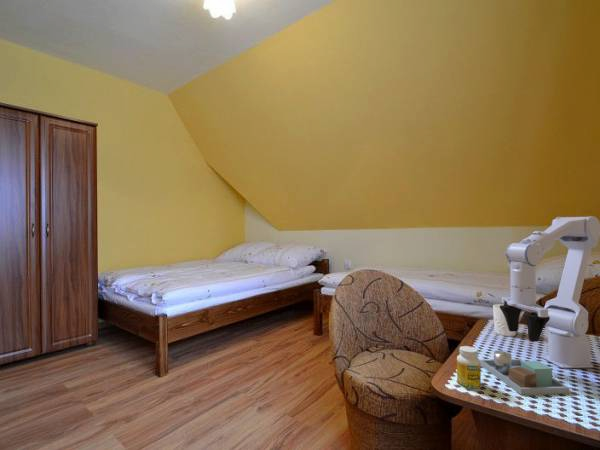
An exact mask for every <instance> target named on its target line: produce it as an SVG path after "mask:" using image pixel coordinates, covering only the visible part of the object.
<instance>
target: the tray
mask: <svg viewBox="0 0 600 450" xmlns="http://www.w3.org/2000/svg"><path fill="white" fill-rule="evenodd" d="M479 360H480V363H481V367H482V368H484V369H485V370H486V371H487V372H489V373H490V374H491V375H493V376H494V377H496V378H497V379H498V380H500V381H501V382H502V383H504V384H505V385H507V386H508V387H509V388H511V389H512V390H513V391H515V392H516V393H517V394H519V395H520V396H530V395H531V396H533V395H534V396H537V395H539V396H540V395H570V387H569V386H567V385H565V384H564V383H563V382H561V381H559V380H558V379H556V378H553V377H552V387H525V388H521V387H520V386H518V385H517V384H516V383H514V382H513V381H511V380H510V379H509V375H503V374H501V373H500V372H498V371H497V370H496V369H494V359H479ZM521 361H524V360H522V359H521V358H511V368H514V367H520V366H521Z"/></svg>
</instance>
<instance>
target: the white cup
mask: <svg viewBox="0 0 600 450" xmlns="http://www.w3.org/2000/svg"><path fill="white" fill-rule="evenodd" d="M500 305H504V304H503V303H502V304H501V303H500V304H499V303H497V304H496V303H495V304H493V305H492V315H493V326H494V329H493V330H494V333H496V334H497V335H501V336H505V337H515V336H516V335H517V331H509V329H508V325H507V322H506V319H505V316H504V314H503V312H502V310H501V309H500Z"/></svg>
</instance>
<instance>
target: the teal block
mask: <svg viewBox="0 0 600 450" xmlns="http://www.w3.org/2000/svg"><path fill="white" fill-rule="evenodd" d="M521 367H523V368H525V369H528V370H530V371H532V372H534V373H536V387H552V378H553V367H552V368H551V367H550V366H548V365H546V364H544V363H542V362H541V361H540V360H523V361H521Z"/></svg>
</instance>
